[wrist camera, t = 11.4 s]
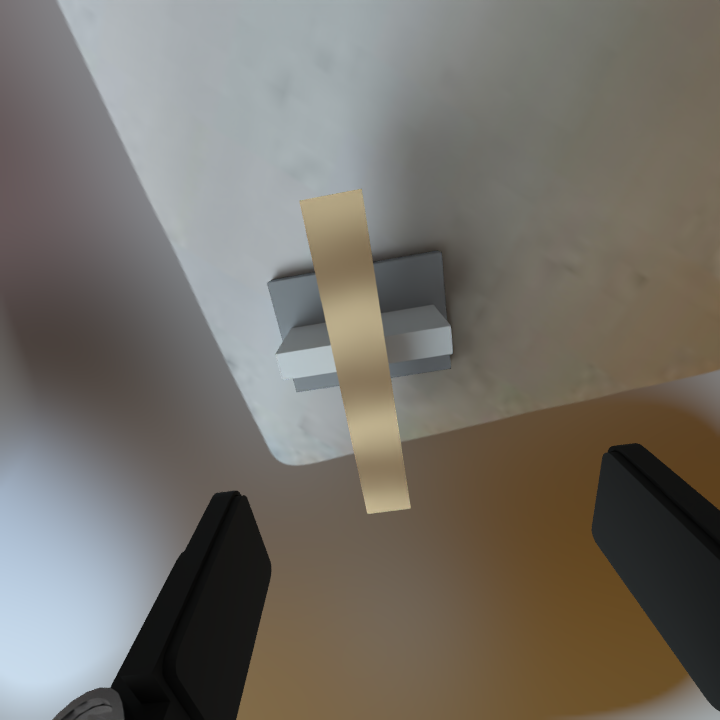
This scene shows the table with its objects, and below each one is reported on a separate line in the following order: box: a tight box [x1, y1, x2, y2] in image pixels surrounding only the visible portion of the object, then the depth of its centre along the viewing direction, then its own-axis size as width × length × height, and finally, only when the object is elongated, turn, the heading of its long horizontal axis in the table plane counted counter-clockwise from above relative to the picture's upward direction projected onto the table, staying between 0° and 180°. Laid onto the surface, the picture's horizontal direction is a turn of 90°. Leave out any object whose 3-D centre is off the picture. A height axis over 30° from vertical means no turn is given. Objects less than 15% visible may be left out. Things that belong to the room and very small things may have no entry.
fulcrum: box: [267, 251, 453, 392], centre depth 27 cm, size 10×14×8 cm
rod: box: [300, 189, 411, 514], centre depth 22 cm, size 20×3×4 cm, turn 10°
